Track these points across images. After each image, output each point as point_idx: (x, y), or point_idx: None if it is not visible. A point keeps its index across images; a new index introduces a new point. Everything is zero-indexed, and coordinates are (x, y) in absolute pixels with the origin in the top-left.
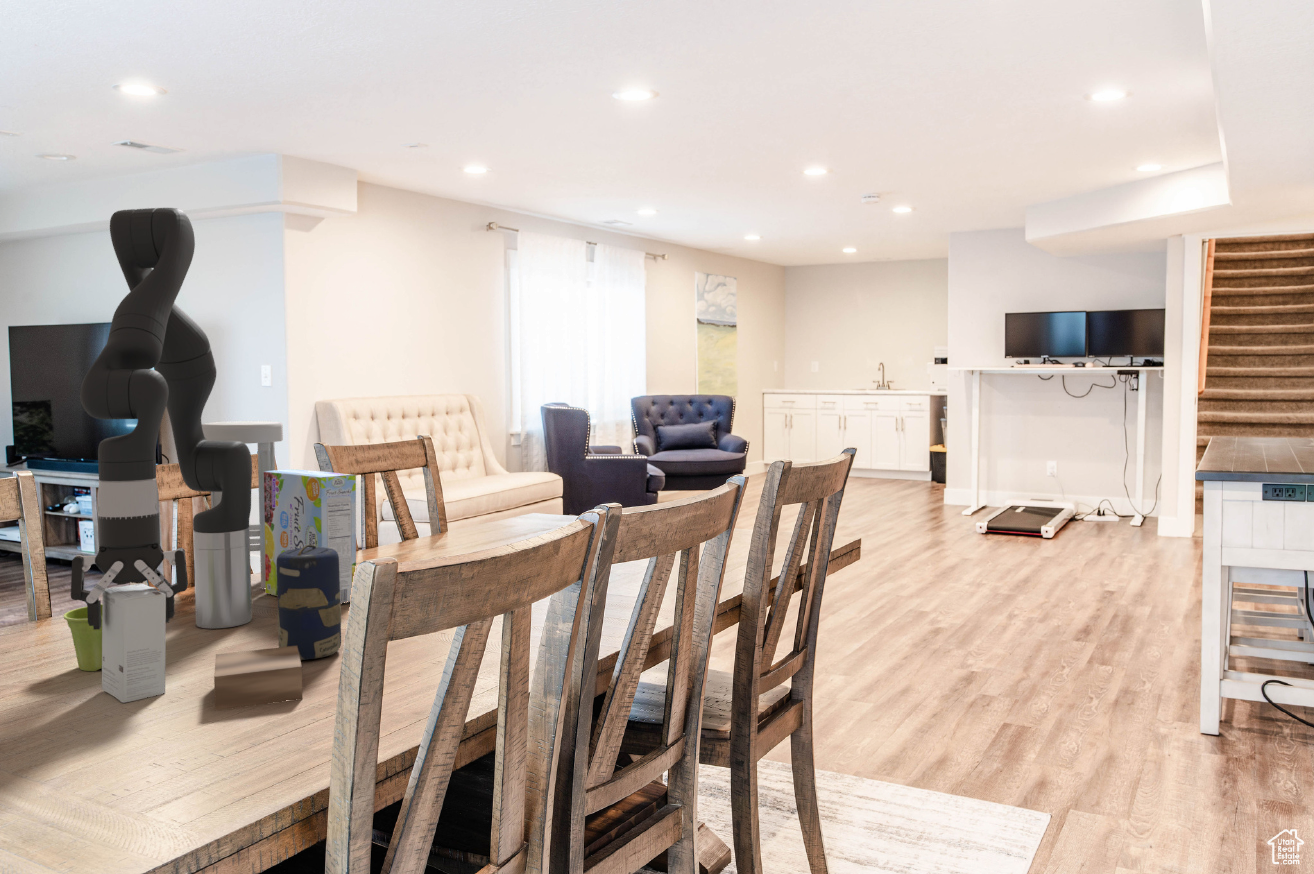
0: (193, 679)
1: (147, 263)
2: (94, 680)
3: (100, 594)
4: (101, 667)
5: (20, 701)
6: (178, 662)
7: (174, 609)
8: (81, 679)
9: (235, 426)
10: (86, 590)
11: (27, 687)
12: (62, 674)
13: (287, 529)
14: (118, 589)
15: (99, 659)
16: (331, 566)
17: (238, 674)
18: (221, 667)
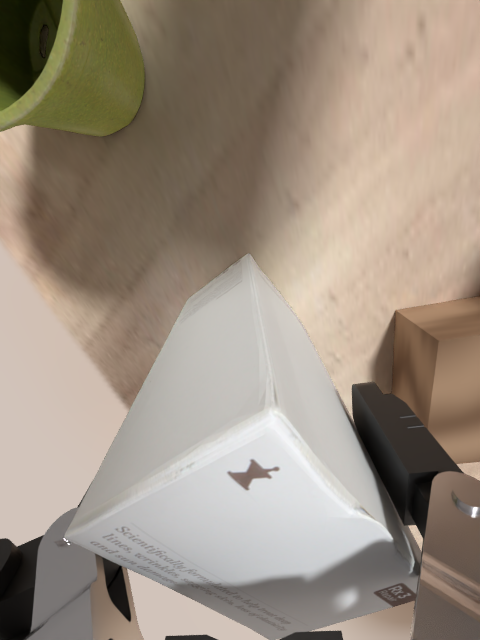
0: (349, 257)
1: None
2: (140, 218)
3: (132, 604)
4: (112, 132)
5: (74, 321)
6: (295, 81)
7: (414, 418)
8: (107, 203)
9: None
10: (21, 594)
11: (27, 240)
12: (35, 146)
13: None
14: (177, 564)
15: (98, 131)
16: None
17: (464, 461)
18: (440, 427)
